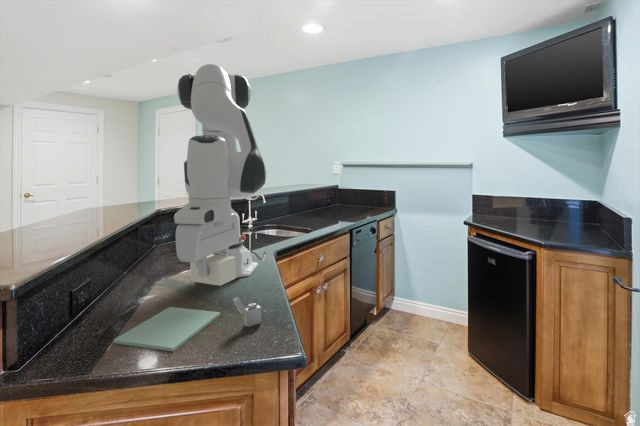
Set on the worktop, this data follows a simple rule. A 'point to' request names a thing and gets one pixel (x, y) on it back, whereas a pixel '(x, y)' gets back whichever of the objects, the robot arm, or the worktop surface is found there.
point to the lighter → (249, 312)
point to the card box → (215, 270)
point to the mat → (168, 329)
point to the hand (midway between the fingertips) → (213, 271)
